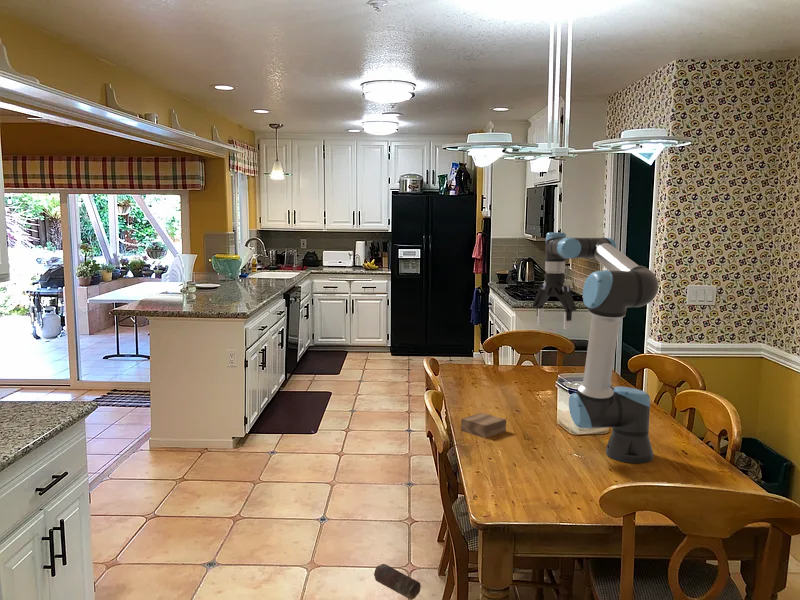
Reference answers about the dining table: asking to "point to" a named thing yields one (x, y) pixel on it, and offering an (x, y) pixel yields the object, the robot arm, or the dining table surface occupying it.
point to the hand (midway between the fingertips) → (553, 327)
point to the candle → (397, 581)
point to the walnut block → (483, 425)
